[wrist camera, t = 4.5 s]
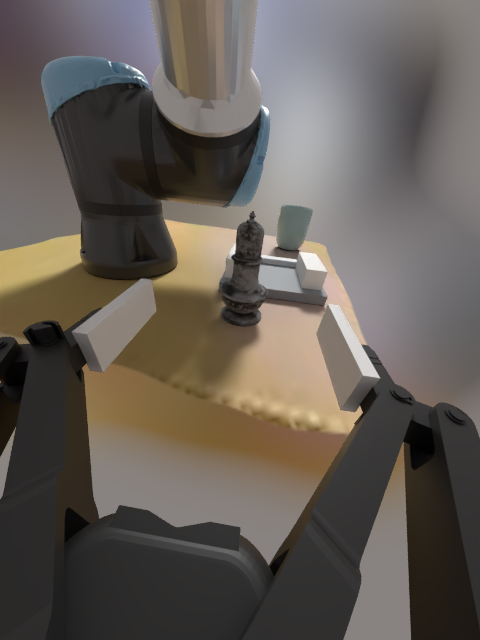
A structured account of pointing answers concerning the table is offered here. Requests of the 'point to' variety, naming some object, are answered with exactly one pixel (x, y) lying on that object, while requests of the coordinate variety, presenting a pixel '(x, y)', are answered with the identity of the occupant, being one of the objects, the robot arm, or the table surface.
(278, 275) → the rail board
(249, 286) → the salt shaker
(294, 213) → the cup
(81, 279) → the table surface
